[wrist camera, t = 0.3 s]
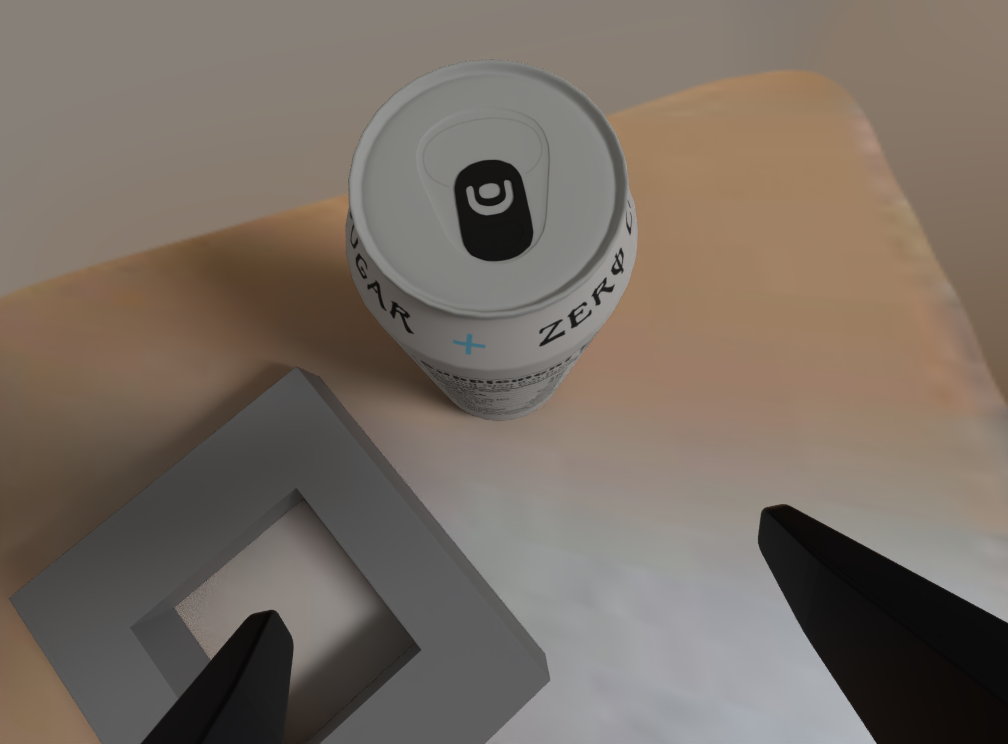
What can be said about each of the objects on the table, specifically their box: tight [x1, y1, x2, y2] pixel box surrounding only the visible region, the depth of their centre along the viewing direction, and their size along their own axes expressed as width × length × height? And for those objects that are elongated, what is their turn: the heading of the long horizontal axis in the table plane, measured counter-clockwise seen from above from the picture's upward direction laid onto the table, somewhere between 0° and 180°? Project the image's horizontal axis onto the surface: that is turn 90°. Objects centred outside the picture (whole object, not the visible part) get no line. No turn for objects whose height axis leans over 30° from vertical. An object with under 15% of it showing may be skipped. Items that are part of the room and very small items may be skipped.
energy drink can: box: [346, 59, 638, 421], centre depth 16 cm, size 6×6×15 cm
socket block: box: [9, 366, 550, 744], centre depth 20 cm, size 16×14×2 cm
